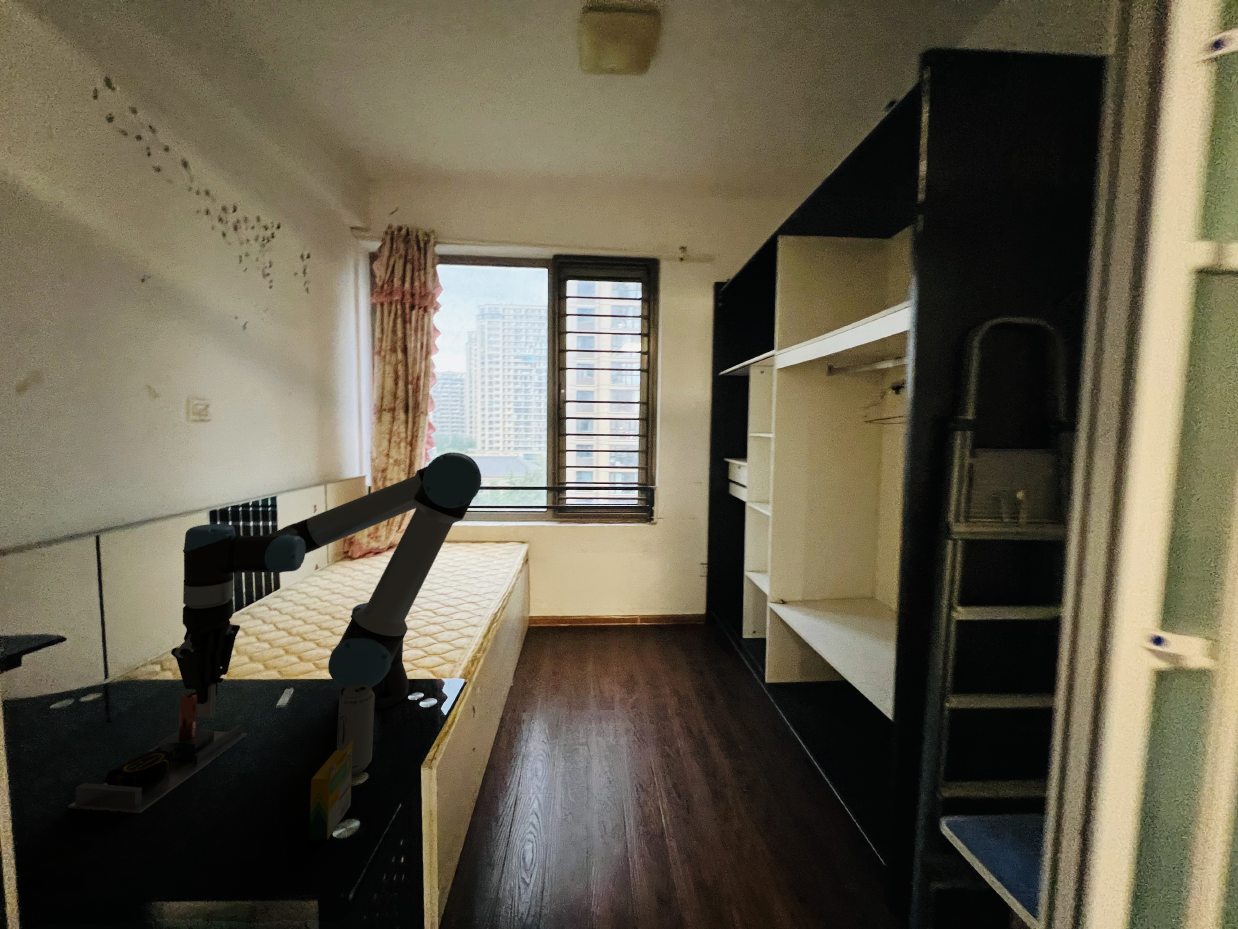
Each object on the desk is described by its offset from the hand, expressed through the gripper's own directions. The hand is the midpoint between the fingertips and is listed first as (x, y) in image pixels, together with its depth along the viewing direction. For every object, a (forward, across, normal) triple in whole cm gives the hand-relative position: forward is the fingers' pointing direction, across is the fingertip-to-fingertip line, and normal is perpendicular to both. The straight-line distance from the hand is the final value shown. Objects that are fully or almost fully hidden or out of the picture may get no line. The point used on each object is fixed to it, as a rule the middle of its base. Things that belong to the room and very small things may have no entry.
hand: (206, 715), depth 93 cm
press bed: (+5, +8, 0) cm, 9 cm away
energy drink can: (+5, +4, +33) cm, 34 cm away
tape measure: (+5, +12, 0) cm, 13 cm away
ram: (+4, +5, 0) cm, 7 cm away
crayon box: (+5, +17, +37) cm, 41 cm away
